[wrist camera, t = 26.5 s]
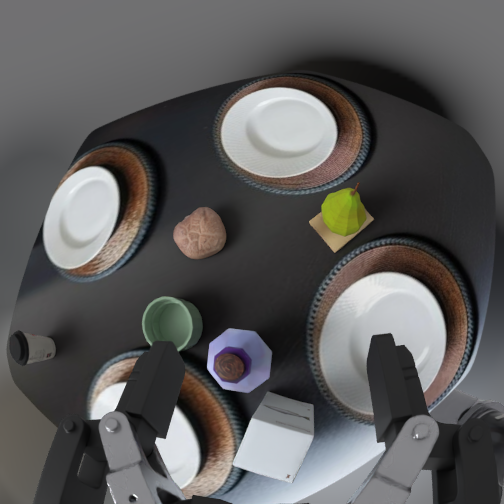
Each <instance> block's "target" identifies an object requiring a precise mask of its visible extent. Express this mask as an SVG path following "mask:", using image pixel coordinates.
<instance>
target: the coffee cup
mask: <svg viewBox="0 0 504 504" xmlns="http://www.w3.org/2000/svg"><path fill="white" fill-rule="evenodd" d="M55 352H56V348H55V344H54V341H53V340H52V339H51V338H49V337H43V336H38V335H33V334H28V333H23V332H21V331H16V332H15V333H14V334H13V335H12V336H11V337H10V353H11V355H12V357H13V359H14V360H15V361H16V362H17V363H18V364H20V365H22V366H24V365H26V364H29V363H33V362H37V361H42V360H46V359H50V358H53V357H54V356H55Z"/></svg>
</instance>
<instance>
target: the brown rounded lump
mask: <svg viewBox="0 0 504 504" xmlns="http://www.w3.org/2000/svg"><path fill="white" fill-rule="evenodd" d="M173 235H174V240H175V242H176V244H177V245H178V246H179V248H180V249H181V251H182V252H183V253H184V254H185V255H186V256H188V257H190V258H192V259H203V258H207V257H209V256H212V255H214V254H216V253H217V252H219V251H220V250H221V249H222V248H223V247H224V244H225V242H226V230H225V228H224V225H223V223H222V221H221V218H220V217H219V215H218V214H217V213H216V212H215V211H213V210H212V209H210V208H209V207H208V208H207V207H200V208H198V209H197V210H195V211H194V212H193V213H192V214H191V215H189V216H186V217H185V219H184V221H183V222H180V223H178V225H176V227H175V229H174V233H173Z"/></svg>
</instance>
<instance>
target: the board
mask: <svg viewBox="0 0 504 504" xmlns="http://www.w3.org/2000/svg"><path fill="white" fill-rule="evenodd" d="M364 209H365V208H364ZM365 213H366V217H367V220H366V221H365V222H364V223H363V225H362V226H361V228H360V229H359V231H358V232H356V233H354V234H351V235H348V236H345V237H344V236H341V235H338V234H335V233H332V232H331V231H330V229H329V228H328V227H327V225H326V224H325V223H324V221H323V216H322V212H320V213H319V214H318V215H317V216H315V217H314V218H313V219H312V220H310V221H309V223H310V225H311V226H312V227H313V228H314V229H315V230H316V232H317V233H318V234H319V235H320V236H321V237H322V239H323V240H324V241H325V242H326V243H327V244H328V246H329V247H330V248H331V249H332V250H333V251H334V253H336V252H337V251H338V250H340V249H341V248H342V247H343V246H344V245H345V244H347V243H348V242H349V241H350V240H351V239H353V238H354V237H355V236H356V235H357V234H358V233H360V232H361V231H362V230H363V229H364V228H365V227H367V226H368V225H369V224H370V223H371V222H372V221H373V220H374V218H373V217H372V216H371V215H370V214H369V213H368V212H367V211H366V209H365Z"/></svg>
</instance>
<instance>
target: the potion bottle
mask: <svg viewBox="0 0 504 504" xmlns="http://www.w3.org/2000/svg"><path fill="white" fill-rule="evenodd" d="M271 358H272V351H271V350H270V349H269V348H268V346H267V345H266V344H265V343H264V342H263V340H262V339H261V338H260V337H259V335H258V334H257V333H256V332H255V331H248V330H239V329H231V328H229V329H227V330H226V331H225V332H224V333H222V334H221V335H220V336H219V337H217V338H216V339H215V340H214V341H212V342H211V343H210V344H209V353H208V364H207V369H208V370H209V372H210V373H211V374H212V376H213V377H214V378H215V379H216V381H217V382H218V383H219V384H220V386H221V387H222V388H223V389H228V390H234V391H240V392H247V393H249V392H250V391H252V390H253V389H255V388H256V387H257V386H259V385H260V384H261V383H263V382H264V381H266V380H267V379H268V378H269V376H270V367H271Z"/></svg>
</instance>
